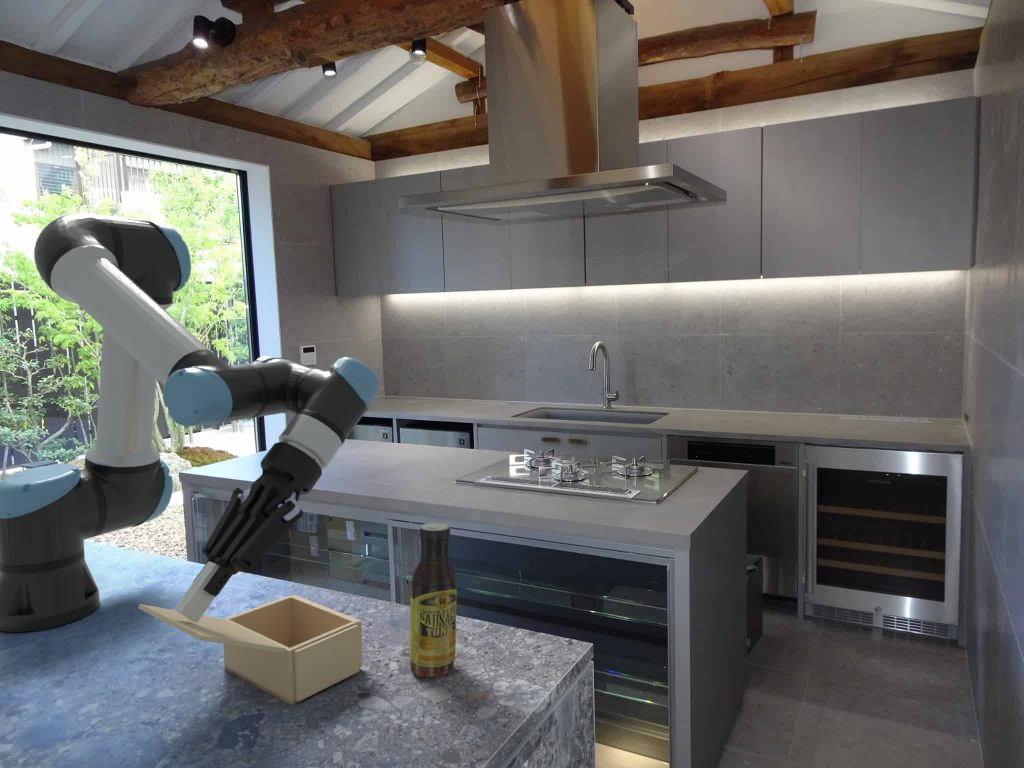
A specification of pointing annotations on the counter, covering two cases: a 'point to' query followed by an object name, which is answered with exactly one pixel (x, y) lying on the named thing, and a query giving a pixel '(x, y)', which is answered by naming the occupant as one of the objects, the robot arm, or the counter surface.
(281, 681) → the wooden box
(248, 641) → the flap
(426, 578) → the sauce bottle
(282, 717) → the counter surface
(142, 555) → the counter surface
